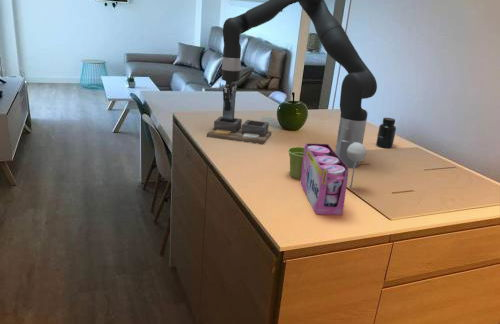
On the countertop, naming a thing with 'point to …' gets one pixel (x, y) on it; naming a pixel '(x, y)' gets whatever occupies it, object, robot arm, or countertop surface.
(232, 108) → the plug
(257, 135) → the socket board
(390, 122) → the supplement bottle
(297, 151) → the plant pot
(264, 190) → the countertop surface
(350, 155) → the lollipop
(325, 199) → the gum box
